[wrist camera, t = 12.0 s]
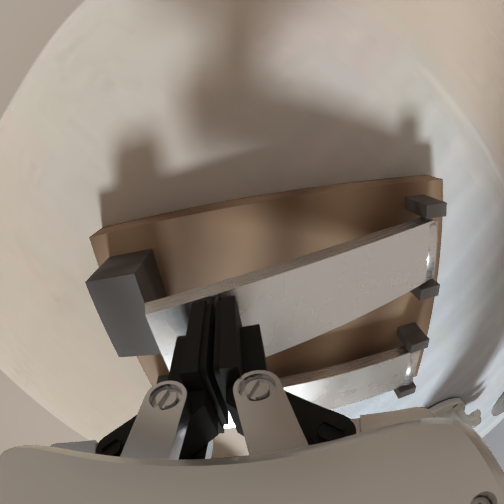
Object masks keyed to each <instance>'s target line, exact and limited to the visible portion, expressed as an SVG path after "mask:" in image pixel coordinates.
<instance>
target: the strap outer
mask: <svg viewBox="0 0 504 504" xmlns="http://www.w3.org/2000/svg"><path fill="white" fill-rule="evenodd" d="M437 240H438V221H437V220H435V219H425V218H423V217H419V218H416V219H414V220H411V221H408V222H405V223H402V224H399V225H396V226H393V227H390V228H387V229H384V230H381V231H378V232H375V233H372V234H368V235H365V236H362V237H359V238H356V239H353V240H350V241H347V242H344V243H341V244H338V245H335V246H332V247H328V248H325V249H322V250H319V251H316V252H313V253H310V254H306V255H303V256H300V257H297V258H294V259H290V260H287V261H284V262H281V263H278V264H274V265H271V266H268V267H265V268H261V269H258V270H255V271H252V272H248V273H245V274H242V275H239V276H235V277H232V278H229V279H225V280H222V281H219V282H215V283H212V284H209V285H205V286H202V287H198V288H195V289H192V290H188V291H185V292H181V293H178V294H175V295H171V296H168V297H164V298H161V299H157V300H154V301H150V302H147V303H145V315H146V318H147V321H148V323H149V326H150V328H151V330H152V333H153V335H154V338H155V340H156V342H157V345H158V347H159V349H160V352H161V354H162V356H163V358H164V361H165V363H166V365H167V367H168V369H169V372H170V367H171V362H172V357H173V353H174V348H175V343H176V339H177V337H178V336H183V335H186V331H187V326H188V321H189V315H190V310H191V305H192V302H196V301H203V300H206V301H207V303H212V304H213V307H214V311H215V315H216V303H217V302H219V301H221V297H227V296H233V295H235V297H236V300H237V305H238V309H239V314H240V318H241V322H242V327H244V326H250V325H256V324H259V325H260V330H261V335H262V340H263V346H264V351H265V357H267V356H270V355H273V354H275V353H278V352H280V351H283V350H285V349H288V348H290V347H293V346H295V345H298V344H300V343H303V342H305V341H307V340H310V339H312V338H315V337H317V336H319V335H321V334H324V333H326V332H328V331H331V330H333V329H335V328H337V327H339V326H342V325H344V324H346V323H348V322H350V321H352V320H354V319H356V318H359V317H361V316H363V315H365V314H367V313H369V312H371V311H373V310H375V309H377V308H379V307H381V306H383V305H385V304H387V303H388V302H390V301H392V300H394V299H396V298H398V297H400V296H402V295H404V294H405V293H407V292H409V291H411V290H413V289H414V288H416V287H418V286H420V285H422V284H423V283H425V282H427V281H429V280H430V279H432V278H433V277H434V273H435V263H436V253H437Z"/></svg>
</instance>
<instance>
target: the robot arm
mask: <svg viewBox="0 0 504 504" xmlns="http://www.w3.org/2000/svg"><path fill="white" fill-rule="evenodd" d="M464 410H465V404H464V402H463V401H462V400H461V399H460V398H452V399H448V400H445V401H442V402H440V403H438V404H436V405H434V406H433V407H431V408H429V409H426V408H423V407H414V408H408V409H403V410H397V411H390V412H383V413H376V414H368V415H360V418H357V419H350V418H348V417H346V416H344V415H342V414H339V413H337V412H334V411H332V410H329V409H327V408H324V407H322V406H319V405H317V404H314V403H312V402H310V401H307V400H305V399H303V398H300V397H298V396H296V395H294V394H291V393H289V392H287V391H285V390H284V388H283V386H282V384H281V381H280V380H279V378H278V377H277V376H276V375H275V374H273V373H272V372H269V371H268V369H267V363H266V357H265V351H264V346H263V340H262V335H261V330H260V325H259V324H256V325H250V326H244V327H242V322H241V318H240V314H239V309H238V305H237V300H236V297H235V295H233V296H227V297H221V301H219V302H217V303H216V315H215V311H214V307H213V304H212V303H207V301H206V300H203V301H196V302H192V305H191V310H190V315H189V321H188V326H187V331H186V335H183V336H178V337H177V339H176V343H175V348H174V353H173V357H172V362H171V367H170V372H169V377H168V381H164V382H160V383H158V384H156V385H154V386H153V387H152V388H151V389H149V391H148V392H147V394H146V395H145V398H144V400H143V402H142V405H141V407H140V410H139V412H138V414H137V415H136V416H135V417H133V418H132V419H130V420H129V421H127V422H126V423H125V424H123V425H122V426H120V427H119V428H117V429H116V430H114V431H113V432H111V433H110V434H108V435H107V436H105V437H104V438H103V439H102V440H100V442H99V443H98V442H97V441H96V440H92V441H82V442H70V443H56V444H53V445H51V446H40V445H24V446H18V447H14V448H10V449H8V450H6V451H4V452H3V453H2V454H1V455H0V504H504V472H503V470H502V469H501V467H500V465H499V464H498V462H497V460H496V459H495V457H494V455H493V454H492V452H491V451H490V449H489V448H488V446H487V445H486V444H485V442H484V441H483V440H482V438H481V437H480V436H479V435H478V434H477V433H476V431H475V430H474V429H472V428H474V427H475V426H477V425H479V424H480V423H481V417H480V415H481V412H480V410H479V409H477V410H475V411H474V412H472V413H471V414H469V415H466V413H465V412H464ZM229 413H230V416H231V418H232V421H233V423H234V424H235V427H236V429H237V432H238V433H240V434H241V435H243V436H244V437H245V441H246V444H247V448H248V452H249V456H239V457H228V458H214V459H211V456H212V450H213V440H212V439H214V438H215V437H216V436H217V435H218V433H224V425H228V424H229Z"/></svg>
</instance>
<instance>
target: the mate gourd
mask: <svg viewBox="0 0 504 504" xmlns="http://www.w3.org/2000/svg"><path fill="white" fill-rule="evenodd" d="M502 412H504V392H503V394H502V395H501V396H500V398H499V399H498V400H497V402H496V403H495V405H494V407H493V409H492V412H491V413H492V415H493V416H497V415H499V414H501V413H502Z"/></svg>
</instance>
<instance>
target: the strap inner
mask: <svg viewBox="0 0 504 504" xmlns="http://www.w3.org/2000/svg"><path fill="white" fill-rule="evenodd" d="M420 351H421V350H419V351H416V352H413V353H411V354H410V353H409V351H408V350H407V348H406V347H405V346H404V345H402V346H399V347H396V348H393V349H390V350H387V351H384V352H381V353H377V354H374V355H371V356H368V357H364V358H361V359H357V360H354V361H350V362H347V363H343V364H339V365H335V366H331V367H327V368H323V369H319V370H315V371H310V372H306V373H301V374H297V375H292V376H287V377H282V378H279V380H280V381H281V384H282V386H283V388H284V390H285V391H287V392H289V393H291V394H294V395H296V396H298V397H300V398H303V399H305V400H307V401H310V402H312V403H314V404H317V405H319V406H322V407H324V408H327V409H329V410H330V409H334V408H337V407H341V406H345V405H348V404H351V403H355V402H358V401H361V400H365V399H368V398H371V397H374V396H377V395H380V394H383V393H386V392H388V391H391V390H394V389H397V388H399V387H402V386H404V385H409V384H410V383H411V382H412V381H413V377H414V374H415V370H416V366H417V363H418V359H419V355H420ZM233 427H235V424H234V423H233V421H232V418H231V416H230V413H229V424H228V425H224V428H233Z"/></svg>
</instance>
